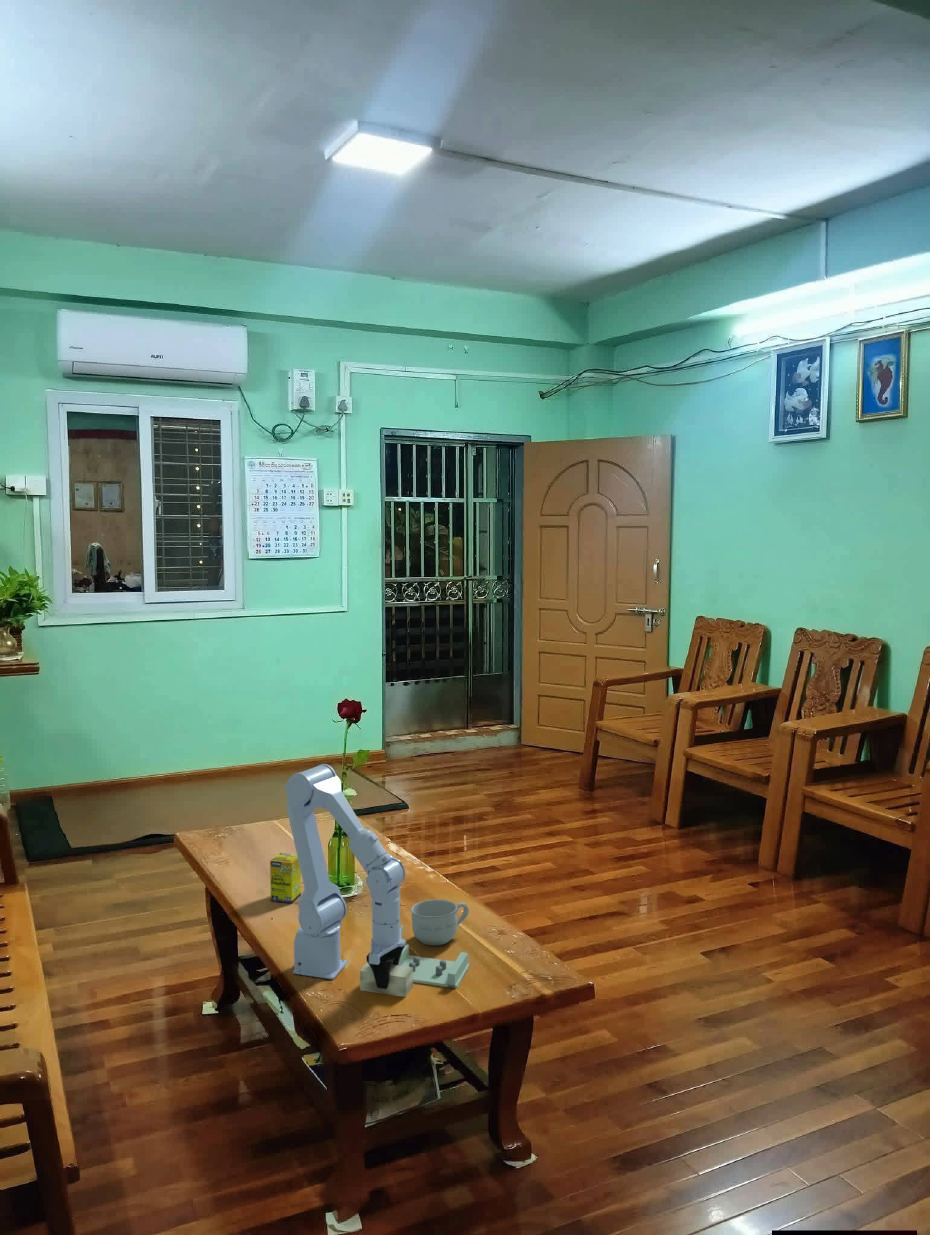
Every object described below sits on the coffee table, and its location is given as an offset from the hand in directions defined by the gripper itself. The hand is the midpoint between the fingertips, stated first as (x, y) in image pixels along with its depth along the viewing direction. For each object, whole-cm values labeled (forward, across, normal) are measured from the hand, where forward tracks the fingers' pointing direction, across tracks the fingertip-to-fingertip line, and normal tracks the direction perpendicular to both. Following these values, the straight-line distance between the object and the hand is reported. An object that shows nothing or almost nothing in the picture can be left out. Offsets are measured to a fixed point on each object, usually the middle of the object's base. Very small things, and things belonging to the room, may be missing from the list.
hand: (386, 981), depth 194 cm
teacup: (+2, +25, -4) cm, 25 cm away
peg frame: (+1, +9, -6) cm, 11 cm away
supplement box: (+2, +36, +41) cm, 55 cm away
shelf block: (+1, 0, 0) cm, 1 cm away
